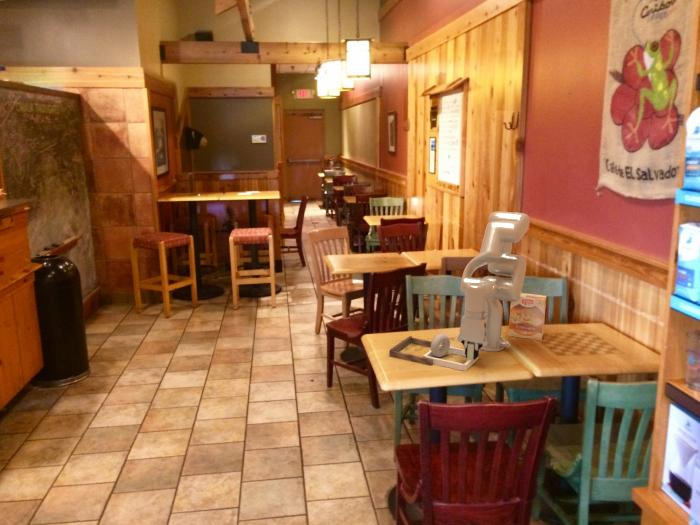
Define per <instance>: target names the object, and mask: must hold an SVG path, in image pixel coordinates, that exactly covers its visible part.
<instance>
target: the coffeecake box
mask: <svg viewBox="0 0 700 525" xmlns="http://www.w3.org/2000/svg"><path fill="white" fill-rule="evenodd" d="M546 304H547V295H542V294H533V293H524V292H521V296H520V298H519V300H518V301H515V302H512V301H510V308H509V321H508V322H509V324H508V334H507V336H508V337H515V338H521V339H528V340H529V339H530V340H537V341H542V339H543V337H544V327H545V316H546V306H547V305H546Z"/></svg>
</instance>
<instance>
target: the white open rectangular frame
mask: <svg viewBox="0 0 700 525" xmlns="http://www.w3.org/2000/svg"><path fill="white" fill-rule="evenodd" d="M441 346H442V345H439V349H440V348H441ZM474 350H475V343H474V342H469V343H468V351H467V358H466V362H464V363H461V362H457V361H452V360H448V359H443V358H439V357H435V356H434V355H433V354H432V352H431V349H429V351H427V352H426V353H425V354H423V355H422V357H425V358H429V359H433V365H435V366H440V367H444V366H445V368H448V367H449V369H452V370H453V369H454V370H458V371H465V372H467V371H468V370H469V369H470V368H471V366H472V365H474V364H475V363H476V362H477V361H479V360H478V359H480V355H479V356H478V357H477V358H476V359H475V360H474V359H473V356H474ZM447 353H448V354H454V355H458V356H463V357H466V355H465V348H464V349H463V348H461V347H460V348H459V347H454V346H450V347H449V350H448V352H447Z"/></svg>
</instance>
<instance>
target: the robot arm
mask: <svg viewBox="0 0 700 525" xmlns="http://www.w3.org/2000/svg"><path fill="white" fill-rule="evenodd" d="M530 220H531V219H530V216H529V215H528V214H527V213H523V212H516V211H515V212H513V211H503V210H502V211H498V210H497V211H493V212H491V213H490V214H489V215H488V223H487V224H486V227H485V230H484V235H483V238H482V242H481V246H480V250H479V253H478V254H477V255H475V257H473V258H472V259H471V260H470V261H469V262H468V263H467V265H466V266H465V268H464V270H463V272H462V276H461V280H460V286H459V288H460V292H461V293H462V294H463V295H464V296H465V299H464V314H463V316H462V318H461V321H460V327H459V334H458V336H457V338H456V340H457V341H459V342H460V343H461V344H462V346H463V348H464V349H465V355H466V356H465V359H467V351H468V343H469V342H474V343H475V350H474V356H473V359H474V360H475V359H476V358H477V357H478V356H479V357H480V353H479V352H480V351H485V352H490V353H491V352H500V351H502V350H504V348H511V343H510V341H508V340H504V337H503V336H502V330H503V328H502V327H503V317H504V316H503V314H504V308H503V305H502V303H501V301H507V302H511V301H512V302H515V301H518V300H519V298H520V296H521V293H523V292H522V290H523V286H524V281H525V277H526V276H525V275H526V272H527V259H526V258H525V257H524V256H523V255H520V254H513V253H512V250H513V244H514V243H515V244H516V243H519V242H520V241H521V240H522V238H523V237H524V235H525V234H526V233H527V231H528V229H529V227H530V223H531V222H530ZM486 265H487V270H488V272H489V273H491V274H493V275H487V276H486V275H485V276H483V277H482V278H479V277H472V276H473V273H474V272H476V270H477V269H478V268H481V267H483V266H486ZM494 275H499V276H494ZM501 276H506V277H501ZM507 277H508V278H507ZM509 277H511V278H509Z"/></svg>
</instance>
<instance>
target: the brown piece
mask: <svg viewBox="0 0 700 525" xmlns="http://www.w3.org/2000/svg"><path fill="white" fill-rule="evenodd" d="M432 341H433V340H426V339H422V338H418V337H416V338H415V337H413V336H411V335H409V336H407V337H406V338H404V339H403V340H401V341H400V342H399V343H397V344H396V345H394V346H393V347H391V348H390V349H389V353H388V354H389V355H388V356H389V357H390V358H396V359H399V360H403V361H409V362H414V363H418V364H423V365H427V366H433V365H434V364H433V359H429V358H425V357H423V356H419V355H415V354H410V353H407V352H402V350H404V349H405V348H406V347H408V346H410V345H411V344H412V345H416V346H417V345H418V346H421V347H426V348H431V343H432ZM440 345H442V342H441V343H440Z"/></svg>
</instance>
